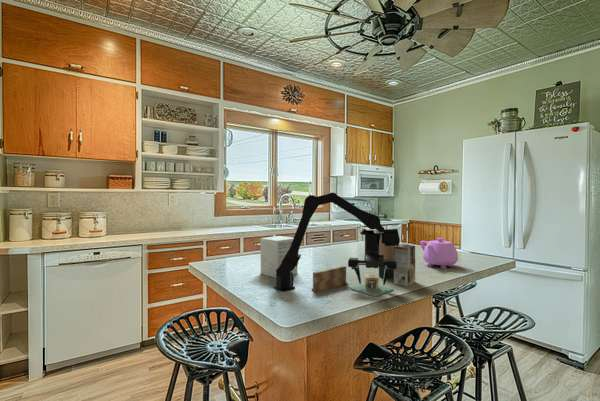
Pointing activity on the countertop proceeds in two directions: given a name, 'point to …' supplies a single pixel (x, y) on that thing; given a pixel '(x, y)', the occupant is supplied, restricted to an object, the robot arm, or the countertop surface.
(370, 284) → the letter block
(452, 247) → the teapot
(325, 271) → the screen
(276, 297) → the countertop surface
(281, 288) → the robot arm
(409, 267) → the coffee box
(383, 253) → the travel mug
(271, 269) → the supplement box
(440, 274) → the countertop surface
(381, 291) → the mat
